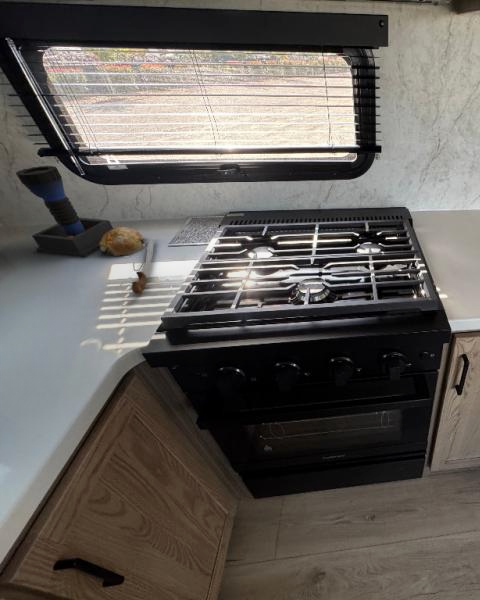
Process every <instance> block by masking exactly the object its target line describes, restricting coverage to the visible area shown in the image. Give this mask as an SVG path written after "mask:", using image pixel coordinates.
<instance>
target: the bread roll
mask: <svg viewBox="0 0 480 600" xmlns="http://www.w3.org/2000/svg"><path fill="white" fill-rule="evenodd" d="M99 244H100V247H101V248H100V252H101V253H102V254H106V255H107V256H114V257H120V256H126V255H130V254H131V255H132V254H133V253H136V252H138V251H140V250H141V249H142V248H145V247H146V244H145V241H144V237H143V235H142V234H141V233H140V232H139V231H138V230H136V229H133V228H131V227H126V226H120V227H115V228H113V229H112V230H110V231H109V232H107V233H106V234H105V235H104V236H103V237H102V240H101V242H100V243H99Z"/></svg>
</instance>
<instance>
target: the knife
mask: <svg viewBox="0 0 480 600" xmlns="http://www.w3.org/2000/svg"><path fill="white" fill-rule="evenodd" d="M154 242H155V241H154V239H151V240H150V241H149V242H148V244H147V248H146V257H145V263H144V266H143V268H142V270H139V271H136V272H135V273H136V275H137V278H138V281H132V283H131V290H132V293H134V294H142V293H143V291H144V290H145V287H146V283H147V282H148V276H149V271H150V268H151V263H152V259H153V253H154V246H155V245H154Z"/></svg>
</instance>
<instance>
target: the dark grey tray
mask: <svg viewBox="0 0 480 600" xmlns="http://www.w3.org/2000/svg"><path fill="white" fill-rule="evenodd" d="M79 220H80V222H81V224H82V225H83V227H84V229H85V231H84V232H82V233H80V234H78V235H76V236H74V237H73V236H70V235H67V234H66V233H65V232H64V230H63V229H62V227H61V226H60V224H58V223H56V224H54V225H52V226H49V227H47V228H45V229H43V230H41V231H39V232H37V233H34V234H32V235H31V237H32V238H33V240H34V241H35V243H36V244H37V245H38V247H35V250H36V251H37V252H38V253H44V254H51V255H52V254H53V255H61V256H71V257H80V258H87V257H88V256H90V255H92V254H94V253H95V252H97V251H99V250H101V247H100V244H99V243H100V242H101V240H102V237H103V236H104V235H105V234H106V233H107V232H109V231H110V230H112V229H114V226H113V225H112V223H111V221H110V220H108V219H100V218H99V219H98V218H89V217H80V216H79Z"/></svg>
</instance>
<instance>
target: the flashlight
mask: <svg viewBox="0 0 480 600" xmlns="http://www.w3.org/2000/svg"><path fill="white" fill-rule="evenodd" d="M15 175H16V177H17V178H18V180H19V181H20V183H21V184H22V185H23V186H24V187H25V188H26V189H27V190H29V192H30V193H32V194H33V195H35V196H36V197H38V198H40V199H42V200H43V204H44V206H45V207H46V208H47V209H48V211H49V214H51V216H52V217H53V219H54V221H55V223H56V224H60V226H61V227H62V229H63V230H64V232H65V233H66V234H67V235H70V236H73V237H74V236H76V235H78V234H80V233H82V232H84V231H85V229H84V227H83V225H82V224H81V222H80V220H79V217H80V216H78V213H77V212H76V209H75V208H74V205H73V204H72V202H71V201H70V198H69V197H68V196H67V195H66V193H65V189H64V188H65V187H64V183H63V179H62V178H63V177H62V175H61V173H60V171H59V169H58V168H57V166H54V165H39V166H32V167H29V168H23V169H20V170H18V171H16V172H15Z"/></svg>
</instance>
